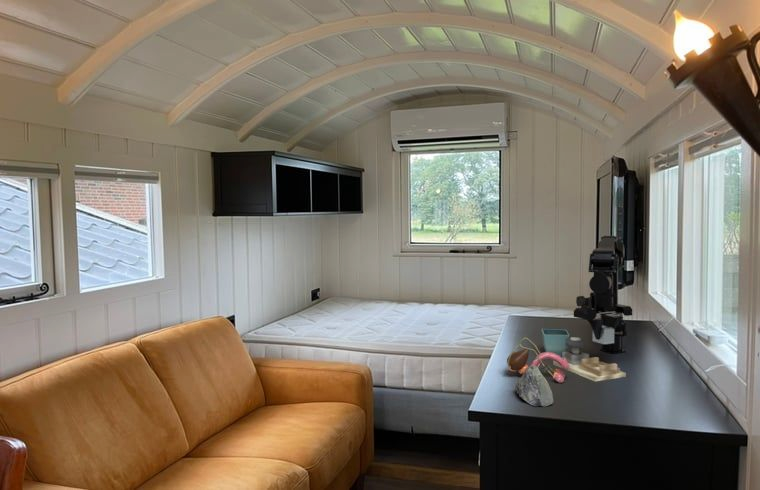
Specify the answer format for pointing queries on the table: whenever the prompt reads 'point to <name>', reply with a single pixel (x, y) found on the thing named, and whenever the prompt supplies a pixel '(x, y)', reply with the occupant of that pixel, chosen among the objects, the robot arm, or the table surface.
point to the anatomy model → (536, 362)
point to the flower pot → (555, 340)
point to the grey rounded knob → (575, 344)
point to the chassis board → (590, 367)
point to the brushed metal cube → (605, 335)
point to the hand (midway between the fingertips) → (603, 338)
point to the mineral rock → (534, 388)
